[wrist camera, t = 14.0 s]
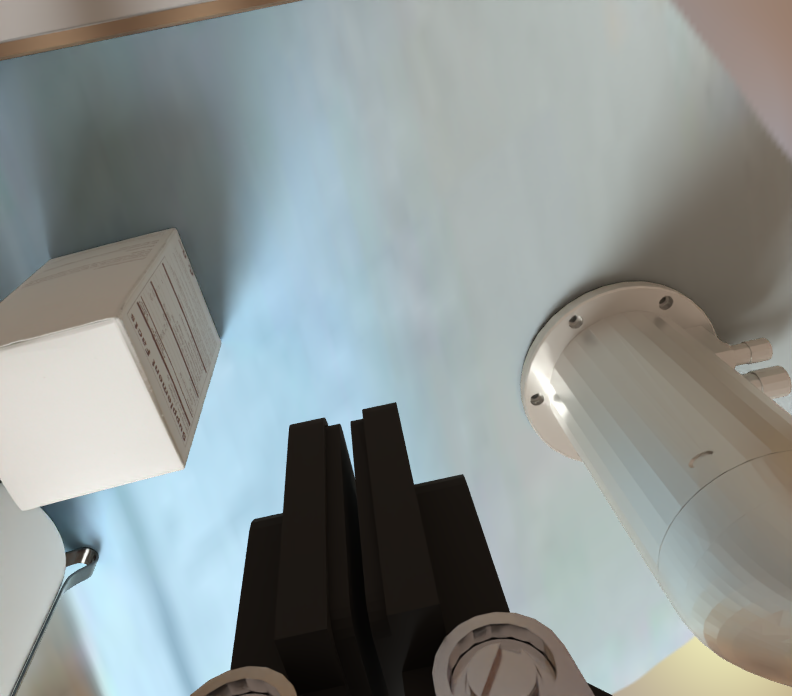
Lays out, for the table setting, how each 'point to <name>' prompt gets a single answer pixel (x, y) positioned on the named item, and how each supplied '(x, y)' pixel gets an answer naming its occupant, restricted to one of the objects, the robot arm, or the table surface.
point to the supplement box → (102, 369)
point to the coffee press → (30, 583)
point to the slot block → (101, 20)
